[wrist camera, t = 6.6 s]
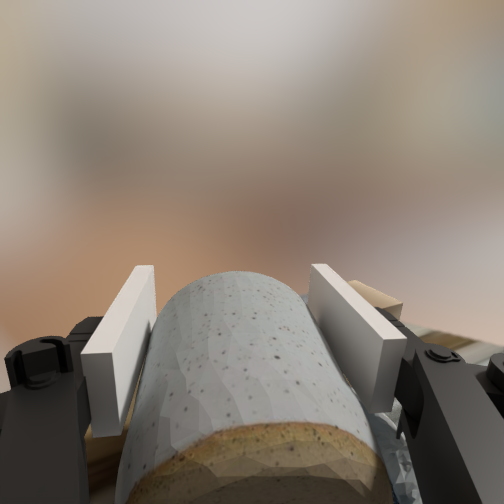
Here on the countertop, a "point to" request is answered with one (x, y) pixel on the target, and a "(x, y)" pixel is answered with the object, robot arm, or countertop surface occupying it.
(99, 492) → the countertop surface
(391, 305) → the birch block
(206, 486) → the ceramic mug
